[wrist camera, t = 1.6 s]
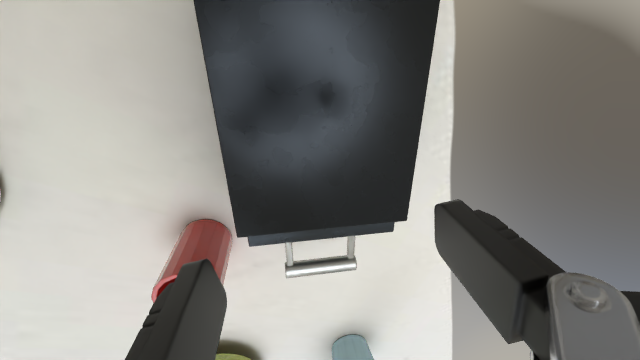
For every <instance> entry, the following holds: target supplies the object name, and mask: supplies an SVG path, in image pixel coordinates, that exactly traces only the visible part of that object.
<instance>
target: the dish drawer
mask: <svg viewBox="0 0 640 360" xmlns="http://www.w3.org/2000/svg"><path fill="white" fill-rule="evenodd" d="M393 230H394V222H388V223H378V224H369V225H359V226H349V227H339V228H329V229H319V230H309V231H299V232H289V233H279V234H269V235H259V236H249V237H248V242H249V246H260V245H269V244H279V243H285V247H286V258H287V262H285V271H286V278H293V277H301V276H309V275H317V274H326V273H334V272H342V271H351V270H356V268H357V263H356V258H355V256H354V247H355V235H365V234H375V233H384V232H393ZM346 236H348V241H347V255H345V256H336V257H327V258H319V259H310V260H301V261H293V253H292V242H298V241H308V240H317V239H327V238H336V237H346Z"/></svg>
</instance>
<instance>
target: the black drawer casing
mask: <svg viewBox="0 0 640 360" xmlns="http://www.w3.org/2000/svg"><path fill="white" fill-rule="evenodd" d="M439 3H440V0H194V5H195V11H196V16H197V22H198V27H199V32H200V38H201V43H202V49H203V54H204V60H205V65H206V70H207V76H208V81H209V87H210V92H211V98H212V103H213V108H214V114H215V119H216V125H217V130H218V136H219V141H220V146H221V152H222V157H223V163H224V168H225V174H226V179H227V185H228V190H229V195H230V201H231V206H232V212H233V217H234V223H235V228H236V233H237V237H238V238H239V237H249V236H259V235H269V234H279V233H289V232H299V231H309V230H319V229H329V228H339V227H349V226H359V225H369V224H378V223H388V222H398V221H407V215H408V208H409V202H410V195H411V189H412V182H413V175H414V169H415V162H416V155H417V149H418V142H419V136H420V129H421V122H422V116H423V109H424V103H425V96H426V89H427V83H428V76H429V70H430V63H431V56H432V50H433V43H434V36H435V30H436V23H437V17H438V10H439Z"/></svg>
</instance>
